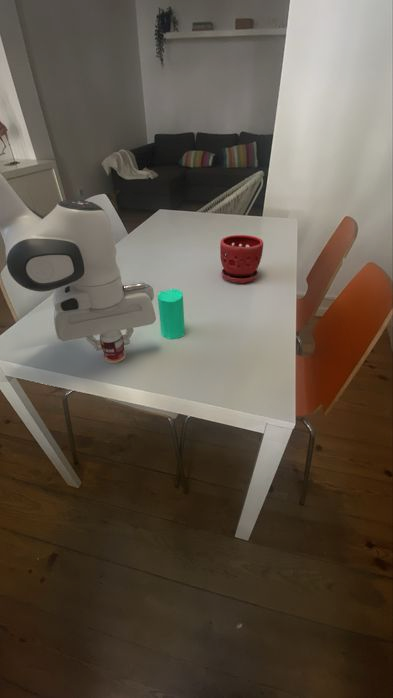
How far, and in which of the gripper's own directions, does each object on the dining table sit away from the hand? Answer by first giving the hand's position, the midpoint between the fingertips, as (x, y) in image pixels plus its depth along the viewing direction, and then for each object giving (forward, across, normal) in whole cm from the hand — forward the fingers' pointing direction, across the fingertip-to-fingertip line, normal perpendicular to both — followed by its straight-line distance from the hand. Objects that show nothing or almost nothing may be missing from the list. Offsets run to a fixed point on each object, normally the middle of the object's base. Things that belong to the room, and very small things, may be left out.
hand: (112, 346), depth 70 cm
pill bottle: (+3, 0, 0) cm, 3 cm away
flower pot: (+3, -44, -28) cm, 52 cm away
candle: (+3, -15, -5) cm, 16 cm away
